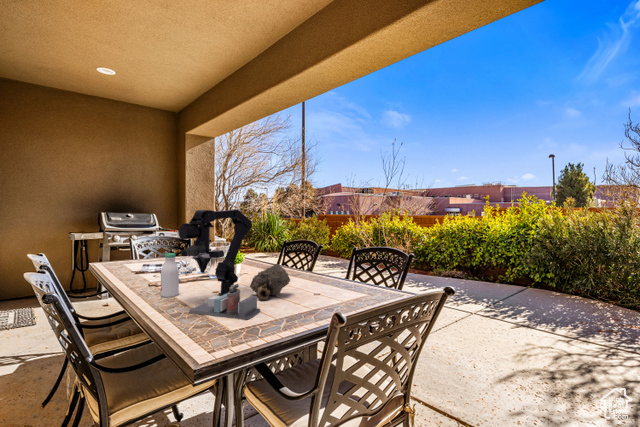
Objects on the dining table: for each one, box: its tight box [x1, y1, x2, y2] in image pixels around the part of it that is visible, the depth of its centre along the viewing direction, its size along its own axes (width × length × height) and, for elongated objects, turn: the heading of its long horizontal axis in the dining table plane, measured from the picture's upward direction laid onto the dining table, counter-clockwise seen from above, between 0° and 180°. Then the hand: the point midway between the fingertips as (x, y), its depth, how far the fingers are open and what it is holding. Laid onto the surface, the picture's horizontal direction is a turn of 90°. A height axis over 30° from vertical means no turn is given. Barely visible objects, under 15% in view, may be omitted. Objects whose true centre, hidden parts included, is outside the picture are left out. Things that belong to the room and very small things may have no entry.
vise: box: [188, 295, 261, 321], centre depth 124 cm, size 10×26×6 cm, turn 75°
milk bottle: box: [160, 252, 180, 298], centre depth 148 cm, size 8×8×20 cm
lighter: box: [227, 283, 241, 314], centre depth 123 cm, size 8×3×10 cm, turn 169°
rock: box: [249, 264, 291, 301], centre depth 147 cm, size 18×14×15 cm
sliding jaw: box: [207, 294, 228, 313], centre depth 124 cm, size 10×8×5 cm
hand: (202, 272), depth 138 cm, fingers closed
